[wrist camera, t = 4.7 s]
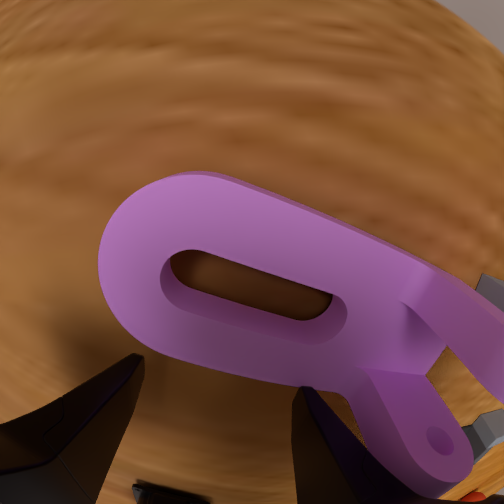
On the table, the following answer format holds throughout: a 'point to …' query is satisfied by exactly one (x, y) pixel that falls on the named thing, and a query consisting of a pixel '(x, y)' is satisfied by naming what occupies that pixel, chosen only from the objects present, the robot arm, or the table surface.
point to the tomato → (474, 497)
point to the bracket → (315, 330)
